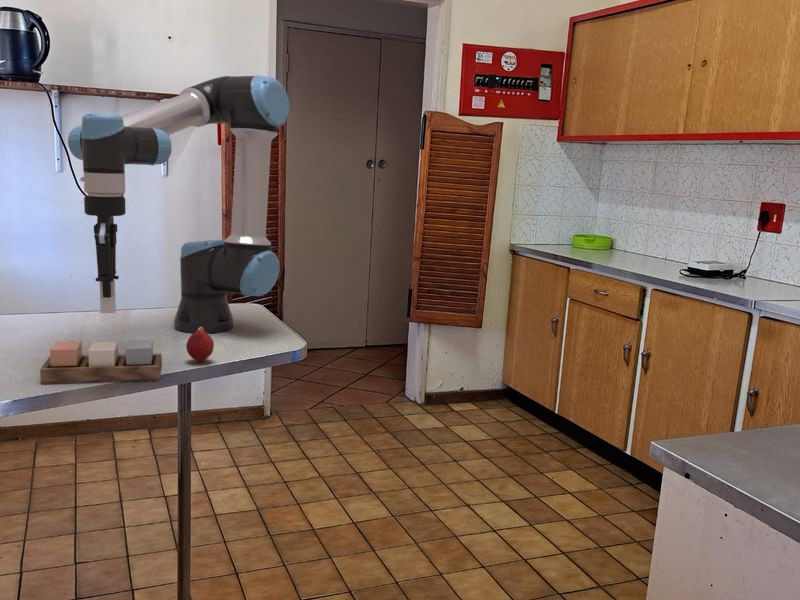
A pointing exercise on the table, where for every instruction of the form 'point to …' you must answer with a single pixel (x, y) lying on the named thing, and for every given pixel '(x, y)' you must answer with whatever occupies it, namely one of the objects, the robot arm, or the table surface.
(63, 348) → the terracotta key
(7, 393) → the table surface
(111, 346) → the cream key
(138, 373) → the wooden compartment tray
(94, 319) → the table surface
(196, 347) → the onion
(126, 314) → the table surface
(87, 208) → the robot arm
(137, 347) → the slate key
